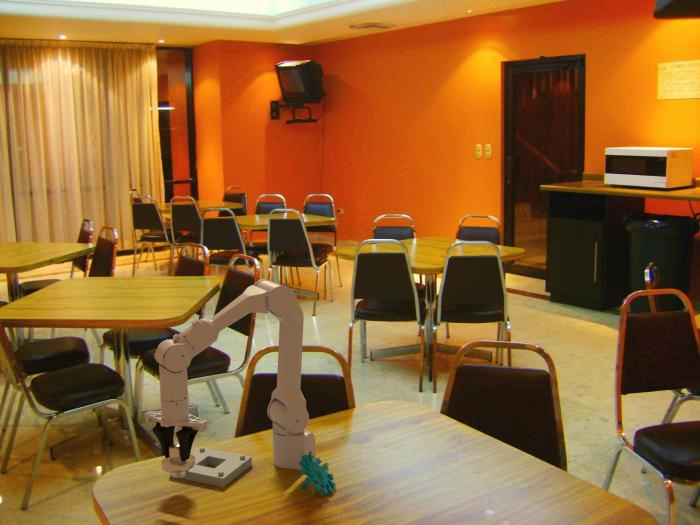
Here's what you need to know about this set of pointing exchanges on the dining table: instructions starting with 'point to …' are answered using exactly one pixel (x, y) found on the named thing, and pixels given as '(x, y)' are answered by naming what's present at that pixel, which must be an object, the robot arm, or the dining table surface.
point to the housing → (225, 462)
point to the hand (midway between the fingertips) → (177, 457)
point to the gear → (316, 474)
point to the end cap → (177, 462)
